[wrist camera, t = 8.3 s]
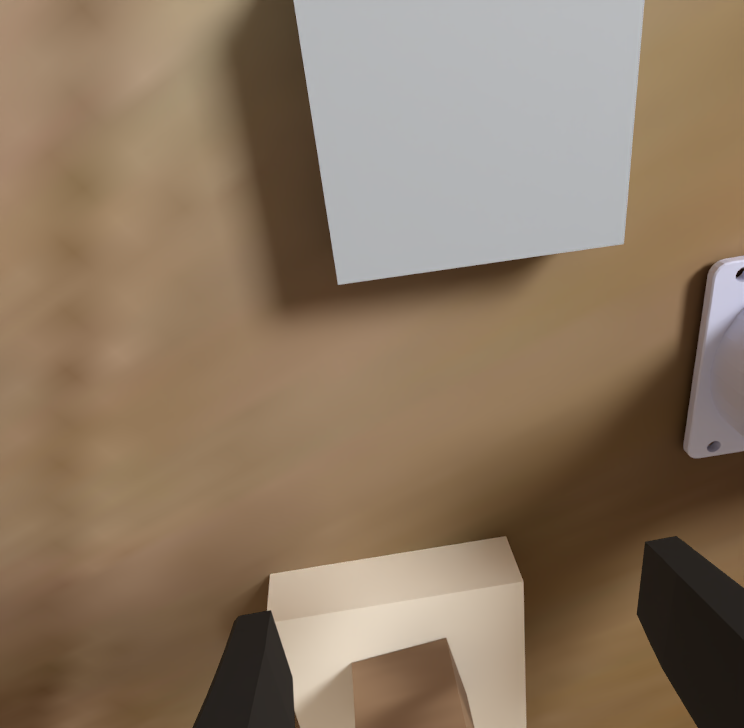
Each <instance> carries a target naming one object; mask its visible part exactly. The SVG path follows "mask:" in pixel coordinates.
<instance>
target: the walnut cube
mask: <svg viewBox="0 0 744 728" xmlns="http://www.w3.org/2000/svg"><path fill="white" fill-rule="evenodd" d="M351 664H352V681H353V697H354V714H355V728H474V724H473V719H472V715H471V711H470V706H469V702H468V698H467V694H466V691H465V688H464V686H463V683H462V680H461V677H460V674H459V672H458V669H457V666H456V663H455V661H454V658H453V655H452V652H451V649H450V647H449V644H448V641H447V638H444V639H440V640H436V641H433V642H429V643H425V644H421V645H418V646H414V647H410V648H406V649H403V650H399V651H395V652H391V653H388V654H384V655H380V656H376V657H373V658H369V659H365V660H361V661H358V662H354V663H351Z"/></svg>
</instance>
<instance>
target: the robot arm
mask: <svg viewBox="0 0 744 728" xmlns="http://www.w3.org/2000/svg"><path fill="white" fill-rule="evenodd" d="M743 267H744V256H739V257H733V258H727V259H723V260H720V261H718V262H716V263H715V264H714V265H713V266H712V267H711V268H710V270H709V273H708V276H707V283H706V290H705V297H704V304H703V311H702V318H701V325H700V332H699V339H698V346H697V353H696V360H695V367H694V374H693V381H692V388H691V395H690V402H689V409H688V416H687V423H686V430H685V437H684V444H683V447H684V450H685V452H686V453H687V454H688V455H689V456H690V457H692V458H704V457H710V456H716V455H723V454H729V453H735V452H741V451H744V271H743V273H742V274H741V275H740V276H739V277H736V274H737V272H738V271H739V270H740V269H741V268H743ZM711 442H713V443H712V444H711V445H709V444H710V443H711ZM708 445H709V446H708ZM637 615H638V618H639V620H640V622H641V624H642V626H643V629H644V631H645V633H646V635H647V637H648V640H649V642H650V644H651V646H652V648H653V650H654V652H655V654H656V657H657V659H658V661H659V663H660V665H661V667H662V669H663V670H664V672H665V674H666V676H667V677H668V679H669V681H670V682H671V684H672V686H673V687H674V689H675V691H676V692H677V694H678V696H679V697H680V699H681V701H682V702H683V704H684V706H685V707H686V709H687V710H688V712H689V714H690V715H691V717H692V719H693V720H694V722H695V724H696V725H697V727H698V728H744V588H743V587H742V586H740V585H739V584H738V583H737V582H735V581H734V580H733V579H731V578H730V577H729V576H727V575H726V574H725V573H724V572H722V571H721V570H720V569H718V568H717V567H716V566H714V565H713V564H712V563H711V562H709V561H708V560H707V559H705V558H704V557H703V556H702V555H700V554H699V553H698V552H696V551H695V550H694V549H693V548H691V547H690V546H689V545H687V544H686V543H685V542H683V541H682V540H681V539H679V538H678V537H677V536H675V537H669V538H664V539H658V540H653V541H647V542H645V548H644V556H643V565H642V574H641V582H640V591H639V599H638V608H637ZM193 728H295V717H294V692H293V677H292V674H291V671H290V667H289V664H288V661H287V658H286V655H285V652H284V649H283V646H282V643H281V640H280V636H279V633H278V630H277V627H276V624H275V621H274V618H273V615H272V612H271V610H269V611H264V612H258V613H253V614H247V615H242V616H239V617H238V618H237V619H236V620H235V621H234V624H233V627H232V630H231V633H230V636H229V639H228V641H227V644H226V647H225V650H224V653H223V655H222V658H221V661H220V663H219V666H218V668H217V671H216V673H215V676H214V678H213V681H212V683H211V686H210V688H209V691H208V693H207V696H206V698H205V700H204V703H203V705H202V707H201V710H200V712H199V714H198V716H197V719H196V721H195V723H194V726H193Z"/></svg>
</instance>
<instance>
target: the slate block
mask: <svg viewBox="0 0 744 728" xmlns="http://www.w3.org/2000/svg"><path fill="white" fill-rule="evenodd" d="M293 1H294V7H295V13H296V20H297V26H298V32H299V39H300V45H301V52H302V58H303V64H304V71H305V77H306V84H307V90H308V96H309V103H310V109H311V115H312V122H313V128H314V135H315V141H316V147H317V154H318V160H319V167H320V173H321V179H322V186H323V192H324V199H325V205H326V211H327V218H328V224H329V230H330V237H331V243H332V250H333V256H334V262H335V269H336V275H337V282H338V285H341V284H348V283H355V282H362V281H369V280H376V279H383V278H390V277H397V276H404V275H411V274H418V273H425V272H432V271H438V270H445V269H452V268H459V267H466V266H473V265H480V264H487V263H494V262H501V261H508V260H515V259H522V258H529V257H536V256H543V255H550V254H557V253H564V252H571V251H578V250H585V249H592V248H599V247H606V246H613V245H620V244H624V235H625V223H626V212H627V200H628V188H629V176H630V164H631V153H632V141H633V129H634V117H635V105H636V94H637V82H638V70H639V58H640V46H641V35H642V23H643V11H644V0H293Z"/></svg>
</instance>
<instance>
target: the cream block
mask: <svg viewBox="0 0 744 728" xmlns="http://www.w3.org/2000/svg"><path fill="white" fill-rule="evenodd" d="M269 610H271V612H272V615H273V618H274V621H275V624H276V627H277V630H278V633H279V636H280V640H281V643H282V646H283V649H284V652H285V655H286V658H287V661H288V664H289V667H290V671H291V674H292V677H293V692H294V711H295V714H296V717H297V720H298V723H299V726H300V728H355V714H354V697H353V681H352V664H351V663H354V662H358V661H361V660H365V659H369V658H373V657H376V656H380V655H384V654H388V653H391V652H395V651H399V650H403V649H406V648H410V647H414V646H418V645H421V644H425V643H429V642H433V641H436V640H440V639H444V638H447V641H448V644H449V647H450V649H451V652H452V655H453V658H454V661H455V663H456V666H457V669H458V672H459V674H460V677H461V680H462V683H463V686H464V688H465V691H466V694H467V698H468V702H469V706H470V711H471V715H472V719H473V724H474V728H526V684H525V632H524V582H523V579H522V576H521V574H520V571H519V569H518V566H517V563H516V561H515V558H514V556H513V553H512V551H511V548H510V545H509V543H508V540H507V538H506V536H504V537H497V538H491V539H485V540H479V541H473V542H466V543H460V544H454V545H448V546H442V547H436V548H429V549H423V550H417V551H411V552H405V553H398V554H392V555H386V556H380V557H374V558H367V559H361V560H355V561H349V562H343V563H337V564H330V565H324V566H318V567H312V568H306V569H299V570H293V571H287V572H281V573H275V574H270V581H269V592H268V603H267V611H269Z"/></svg>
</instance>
